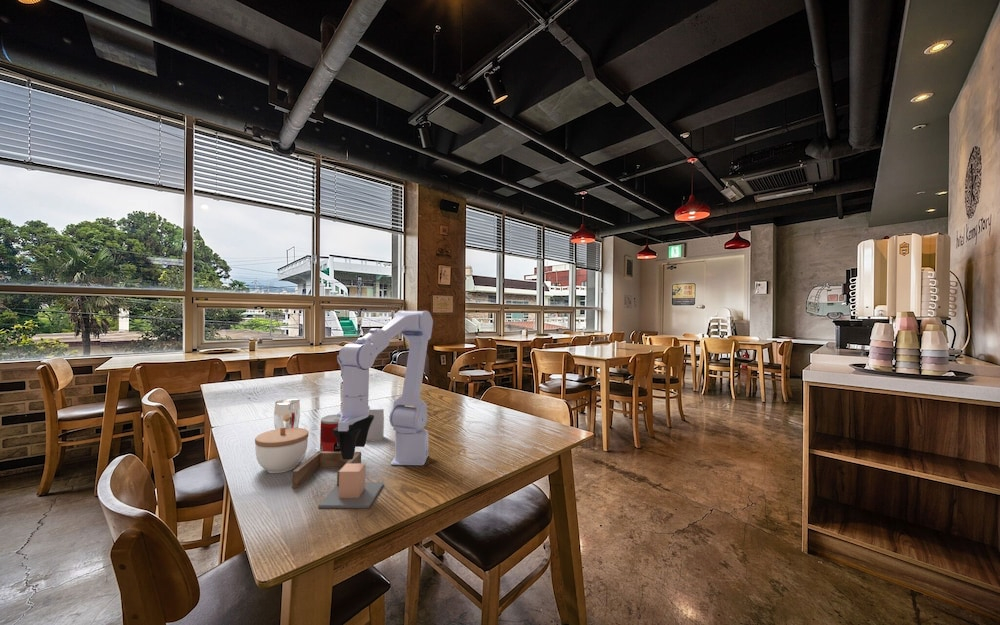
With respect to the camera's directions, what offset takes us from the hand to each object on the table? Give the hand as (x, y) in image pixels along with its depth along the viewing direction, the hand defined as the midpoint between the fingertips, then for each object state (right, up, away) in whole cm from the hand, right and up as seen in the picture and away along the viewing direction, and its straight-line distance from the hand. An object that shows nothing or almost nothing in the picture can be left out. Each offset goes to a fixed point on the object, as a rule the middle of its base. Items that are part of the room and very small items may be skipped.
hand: (354, 452), depth 85 cm
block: (0, -10, 0) cm, 10 cm away
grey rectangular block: (-9, -11, +39) cm, 41 cm away
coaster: (0, -10, 0) cm, 10 cm away
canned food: (-16, -10, +24) cm, 31 cm away
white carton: (-32, -10, +27) cm, 43 cm away
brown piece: (-10, -10, +10) cm, 17 cm away
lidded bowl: (-26, -10, +14) cm, 31 cm away
